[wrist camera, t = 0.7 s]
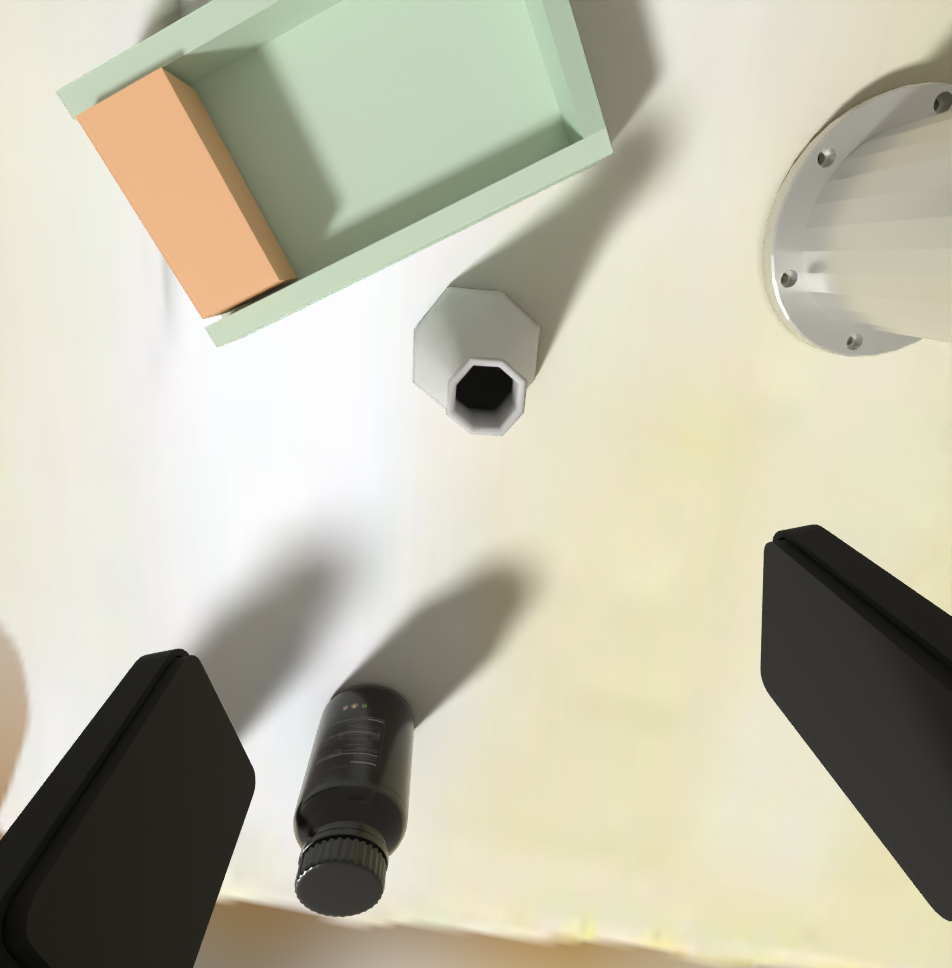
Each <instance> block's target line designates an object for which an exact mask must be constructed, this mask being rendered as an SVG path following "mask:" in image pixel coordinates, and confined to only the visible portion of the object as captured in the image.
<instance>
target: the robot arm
mask: <svg viewBox="0 0 952 968" xmlns="http://www.w3.org/2000/svg"><path fill="white" fill-rule="evenodd" d="M818 156H819V162H818ZM763 274H764V280H765V286H766V291H767V294H768V296H769V299H770V302H771V304H772V307H773V310H774V311H775V313H776V314H777V316H778V317H779V319H780V320H781V322H782V323H783V325H784V326H785V327H786V328H787V329H788V330H789V331H790V332H791V333H792V334H794V335H795V336H796V337H797V338H798V339H799V340H801V341H803V342H805V343H806V344H808V345H810V346H812V347H814V348H816V349H820V350H823V351H826V352H830V353H833V354H838V355H844V356H850V357H859V356H876V355H880V354H884V353H888V352H893V351H897V350H899V349H901V348H904V347H906V346H909V345H911V344H913V343H916V342H918V341H920V340H921V339H923V338H924V339H930V340H936V341H942V342H948V343H952V84H950V83H939V82H926V83H919V84H912V85H905V86H902V87H899V88H896V89H893V90H890V91H888V92H885V93H882V94H879V95H877V96H875V97H873V98H871V99H868V100H866V101H864V102H862V103H860V104H858V105H856V106H854V107H852V108H851V109H850V110H848V111H847V112H845V113H844V114H842V115H841V116H840V117H838V118H837V119H835V120H834V121H833V122H831V123H830V124H829V125H828V126H827V127H826V128H825V129H824V130H823V131H822V132H821V133H820V134H819V135H818V136H817V137H816V138H815V139H814V140H813V141H812V142H810V143H809V145H808V146H807V147H806V149H805V150H804V151H803V153H802V154H801V155H800V157H799V158H798V159H797V161H796V162H795V163H794V165H793V166H792V167H791V169H790V171H789V173H788V175H787V176H786V178H785V180H784V182H783V184H782V185H781V187H780V189H779V191H778V193H777V196H776V199H775V201H774V204H773V207H772V209H771V212H770V215H769V218H768V222H767V227H766V232H765V237H764V242H763ZM782 275H783V280H782V281H781V277H782ZM761 677H762V681H763V684H764V686H765V688H766V690H767V692H768V693H769V695H770V696H771V698H772V699H773V700H774V702H775V703H776V704H777V706H778V707H779V708H780V709H781V711H782V712H783V713H784V715H785V716H786V717H787V719H788V720H789V721H790V723H791V724H792V725H793V726H794V728H795V729H796V730H797V732H798V733H799V734H800V736H801V737H802V738H803V740H804V741H805V742H806V743H807V745H808V746H809V747H810V749H811V750H812V751H813V753H814V754H815V755H816V757H817V758H818V759H819V761H820V762H821V763H822V764H823V766H824V767H825V768H826V770H827V771H828V772H829V774H830V775H831V776H832V778H833V779H834V780H835V781H836V783H837V784H838V785H839V787H840V788H841V789H842V791H843V792H844V793H845V795H846V796H847V797H848V798H849V800H850V801H851V802H852V804H853V805H854V806H855V808H856V809H857V810H858V812H859V813H860V814H861V815H862V817H863V818H864V819H865V821H866V822H867V823H868V825H869V826H870V827H871V829H872V830H873V831H874V833H875V834H876V835H877V836H878V838H879V839H880V840H881V842H882V843H883V844H884V846H885V847H886V848H887V850H888V851H889V852H890V853H891V855H892V856H893V857H894V859H895V860H896V861H897V863H898V864H899V865H900V867H901V868H902V869H903V870H904V872H905V873H906V874H907V876H908V877H909V878H910V880H911V881H912V882H913V884H914V885H915V886H916V888H917V889H918V890H919V891H920V893H921V894H922V895H923V897H924V898H925V899H926V901H927V902H928V903H929V904H930V906H931V907H932V908H933V909H934V910H935V911H936V912H937V913H938V914H939V915H940V916H941V917H942V918H944V919H946V920H948V921H952V616H950V615H949V614H947V613H946V612H945V611H943V610H942V609H940V608H939V607H937V606H936V605H934V604H933V603H932V602H930V601H929V600H927V599H926V598H924V597H923V596H921V595H920V594H919V593H917V592H916V591H914V590H913V589H911V588H910V587H908V586H907V585H905V584H904V583H903V582H901V581H900V580H898V579H897V578H895V577H894V576H892V575H891V574H890V573H888V572H887V571H885V570H884V569H882V568H881V567H879V566H878V565H877V564H875V563H874V562H872V561H871V560H869V559H868V558H866V557H865V556H864V555H862V554H861V553H859V552H858V551H856V550H855V549H853V548H852V547H850V546H849V545H848V544H846V543H845V542H843V541H842V540H840V539H839V538H837V537H836V536H835V535H833V534H832V533H830V532H829V531H827V530H826V529H824V528H823V527H821V526H819V525H807V526H802V527H797V528H792V529H787V530H782V531H778V532H777V533H775V535H774V537H773V542H769V543H767V544H766V546H765V548H764V567H763V601H762V635H761ZM254 790H255V772H254V769H253V767H252V765H251V763H250V760H249V758H248V756H247V754H246V752H245V750H244V748H243V746H242V744H241V742H240V740H239V738H238V736H237V734H236V732H235V730H234V728H233V726H232V724H231V722H230V720H229V718H228V716H227V714H226V712H225V710H224V708H223V706H222V704H221V702H220V700H219V698H218V696H217V694H216V692H215V690H214V688H213V686H212V684H211V682H210V680H209V678H208V676H207V674H206V672H205V670H204V668H203V666H202V664H201V662H200V660H199V659H198V658H197V657H196V656H193V655H190V656H189V654H188V653H187V652H186V651H185V650H183V649H174V650H168V651H163V652H158V653H153V654H148V655H145V656H142V657H140V658H139V659H138V660H137V661H136V662H135V664H134V665H133V666H132V668H131V669H130V670H129V671H128V673H127V674H126V675H125V677H124V678H123V679H122V681H121V682H120V683H119V685H118V686H117V687H116V689H115V690H114V691H113V693H112V694H111V695H110V697H109V698H108V699H107V700H106V702H105V703H104V704H103V706H102V707H101V708H100V710H99V711H98V712H97V714H96V715H95V716H94V718H93V719H92V720H91V722H90V723H89V724H88V726H87V727H86V728H85V729H84V731H83V732H82V733H81V735H80V736H79V737H78V739H77V740H76V741H75V743H74V744H73V745H72V747H71V748H70V749H69V751H68V752H67V753H66V755H65V756H64V757H63V758H62V760H61V761H60V762H59V764H58V765H57V766H56V768H55V769H54V770H53V772H52V773H51V774H50V776H49V777H48V778H47V780H46V781H45V782H44V784H43V785H42V786H41V787H40V789H39V790H38V791H37V793H36V794H35V795H34V797H33V798H32V799H31V801H30V802H29V803H28V805H27V806H26V807H25V809H24V810H23V811H22V813H21V814H20V815H19V816H18V818H17V819H16V820H15V822H14V823H13V824H12V826H11V827H10V828H9V830H8V831H7V832H6V834H5V835H4V836H3V838H2V839H1V840H0V968H193V966H194V963H195V960H196V958H197V955H198V952H199V949H200V946H201V943H202V940H203V938H204V934H205V932H206V929H207V926H208V923H209V920H210V917H211V914H212V912H213V909H214V906H215V903H216V900H217V897H218V894H219V892H220V889H221V886H222V883H223V880H224V877H225V874H226V872H227V869H228V866H229V863H230V860H231V857H232V854H233V851H234V849H235V846H236V843H237V840H238V837H239V834H240V831H241V829H242V826H243V823H244V820H245V817H246V814H247V811H248V808H249V806H250V803H251V800H252V797H253V794H254Z"/></svg>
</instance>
